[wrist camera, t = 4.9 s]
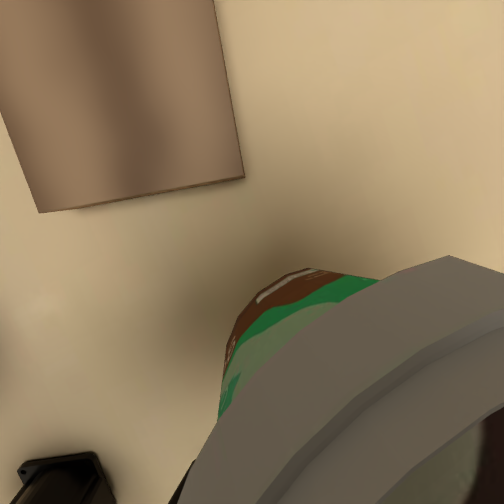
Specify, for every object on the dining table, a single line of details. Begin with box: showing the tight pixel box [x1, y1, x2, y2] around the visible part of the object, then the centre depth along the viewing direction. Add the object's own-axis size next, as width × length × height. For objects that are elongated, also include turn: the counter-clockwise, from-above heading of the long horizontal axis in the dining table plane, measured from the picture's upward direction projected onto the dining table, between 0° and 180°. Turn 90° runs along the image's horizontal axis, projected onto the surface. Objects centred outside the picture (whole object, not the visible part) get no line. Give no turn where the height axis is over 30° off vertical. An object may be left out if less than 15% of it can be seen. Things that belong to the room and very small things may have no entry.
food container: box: [177, 255, 504, 504], centre depth 8 cm, size 12×6×10 cm, turn 11°
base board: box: [0, 0, 245, 213], centre depth 13 cm, size 11×15×3 cm
